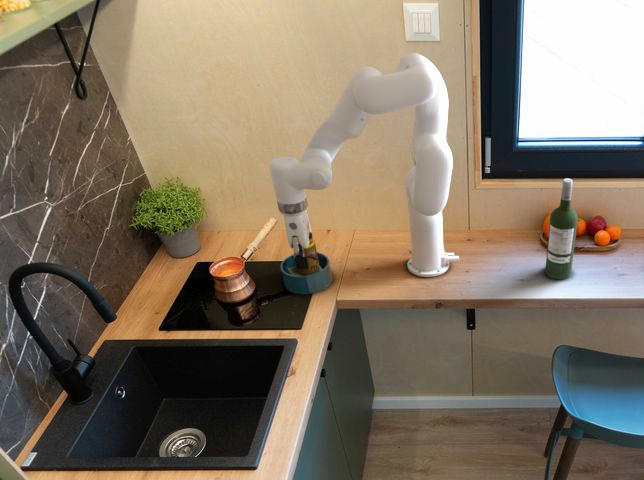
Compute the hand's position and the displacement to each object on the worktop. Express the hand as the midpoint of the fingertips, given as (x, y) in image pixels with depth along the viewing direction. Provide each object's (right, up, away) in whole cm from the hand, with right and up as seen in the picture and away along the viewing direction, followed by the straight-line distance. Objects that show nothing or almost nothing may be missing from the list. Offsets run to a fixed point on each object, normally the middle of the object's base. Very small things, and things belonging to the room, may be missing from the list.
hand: (304, 261), depth 170 cm
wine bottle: (+73, -2, +12) cm, 74 cm away
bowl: (0, -5, +4) cm, 7 cm away
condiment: (0, -3, +2) cm, 3 cm away
